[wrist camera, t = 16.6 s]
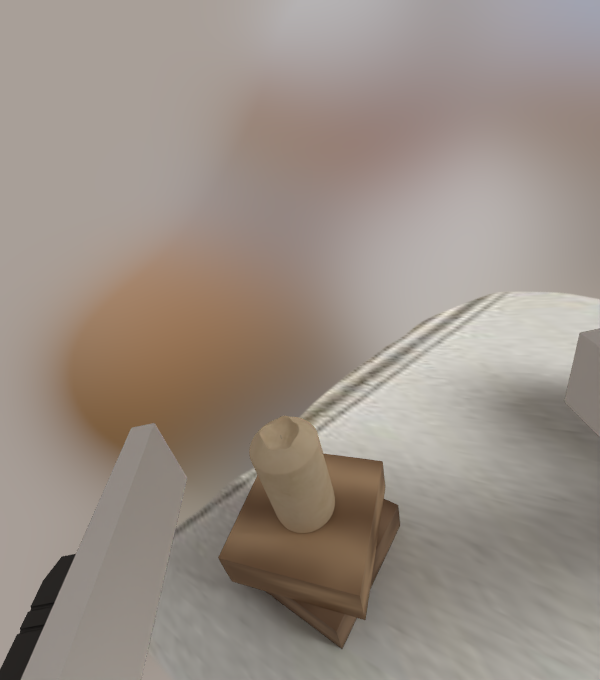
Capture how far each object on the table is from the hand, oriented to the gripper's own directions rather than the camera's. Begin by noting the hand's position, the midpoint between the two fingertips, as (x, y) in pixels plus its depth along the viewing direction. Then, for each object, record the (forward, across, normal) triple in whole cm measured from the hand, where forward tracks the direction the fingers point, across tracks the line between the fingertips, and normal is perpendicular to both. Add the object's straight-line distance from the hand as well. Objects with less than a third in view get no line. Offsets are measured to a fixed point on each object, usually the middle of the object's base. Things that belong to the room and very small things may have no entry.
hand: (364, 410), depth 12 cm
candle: (+12, -6, -22) cm, 25 cm away
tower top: (+12, -6, -26) cm, 29 cm away
